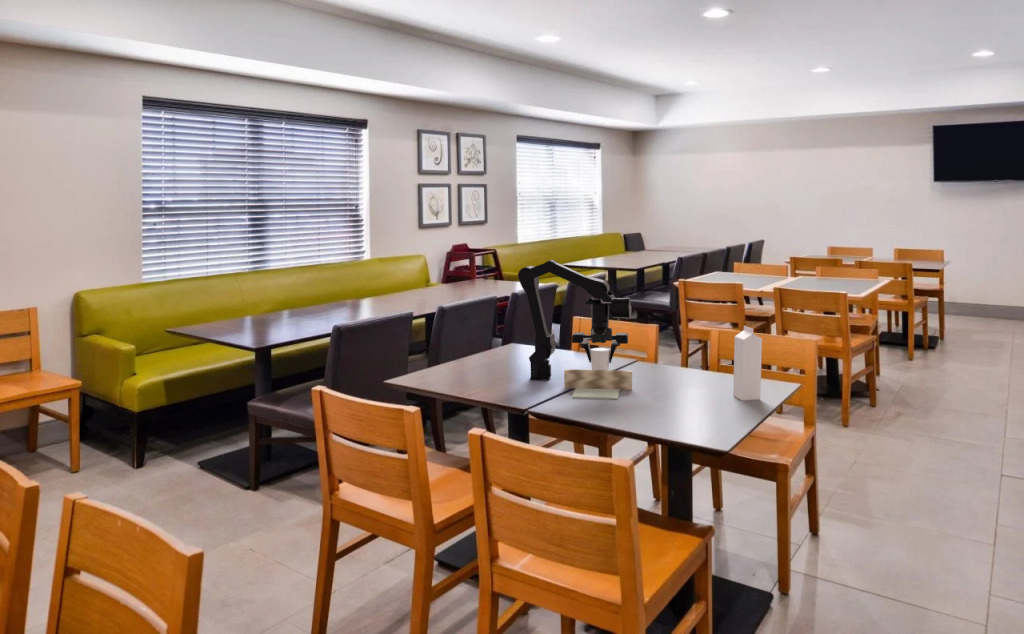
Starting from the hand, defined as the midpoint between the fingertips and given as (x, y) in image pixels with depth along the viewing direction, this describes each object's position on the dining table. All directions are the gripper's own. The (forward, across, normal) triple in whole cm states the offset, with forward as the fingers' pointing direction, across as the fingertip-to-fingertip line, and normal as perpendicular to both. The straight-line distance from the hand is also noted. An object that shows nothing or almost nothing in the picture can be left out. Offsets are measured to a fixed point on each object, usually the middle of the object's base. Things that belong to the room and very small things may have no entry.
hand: (600, 362), depth 247 cm
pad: (+6, 0, -18) cm, 19 cm away
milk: (+6, +46, -17) cm, 49 cm away
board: (+6, 0, -10) cm, 12 cm away
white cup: (+2, 0, 0) cm, 2 cm away
